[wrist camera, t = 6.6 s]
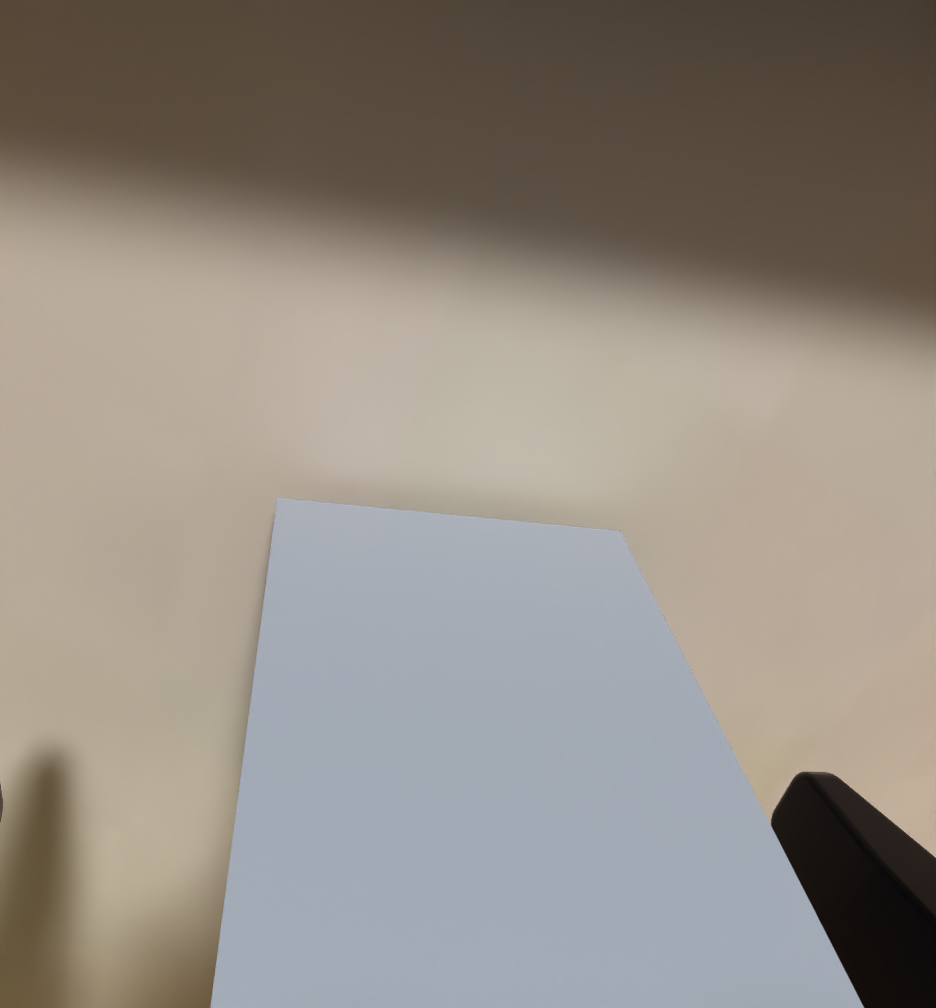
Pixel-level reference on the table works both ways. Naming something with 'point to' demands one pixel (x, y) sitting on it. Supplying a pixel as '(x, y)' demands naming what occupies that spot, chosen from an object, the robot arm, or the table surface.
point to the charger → (494, 787)
